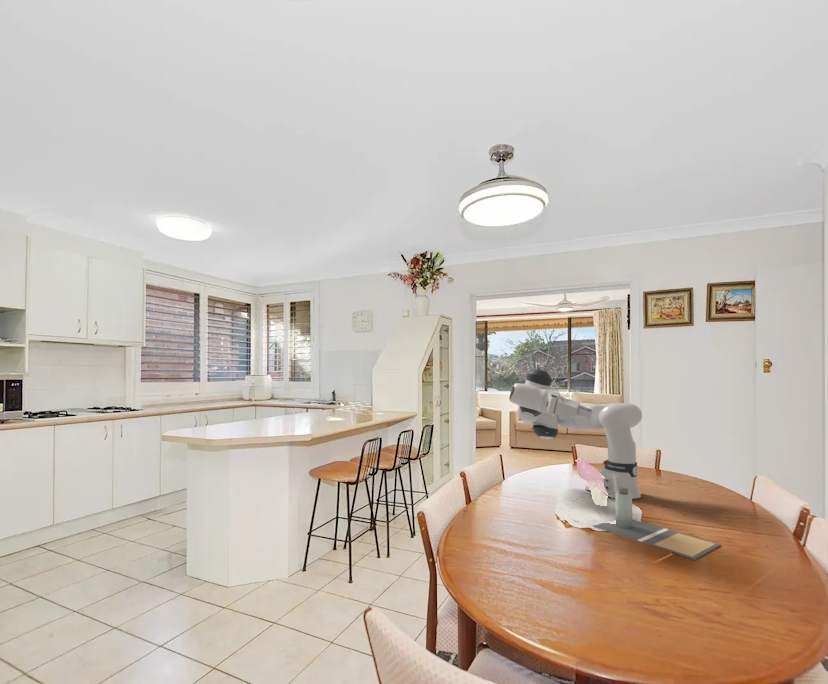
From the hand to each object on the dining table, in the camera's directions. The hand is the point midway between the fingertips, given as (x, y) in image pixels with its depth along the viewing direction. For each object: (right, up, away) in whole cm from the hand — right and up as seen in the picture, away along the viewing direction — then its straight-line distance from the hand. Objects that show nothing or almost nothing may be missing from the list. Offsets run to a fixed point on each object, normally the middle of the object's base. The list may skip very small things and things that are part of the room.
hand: (591, 413), depth 166 cm
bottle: (+8, -37, -9) cm, 39 cm away
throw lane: (+14, -37, -17) cm, 43 cm away
